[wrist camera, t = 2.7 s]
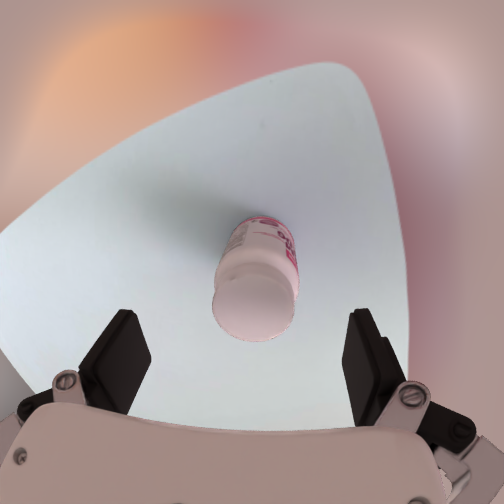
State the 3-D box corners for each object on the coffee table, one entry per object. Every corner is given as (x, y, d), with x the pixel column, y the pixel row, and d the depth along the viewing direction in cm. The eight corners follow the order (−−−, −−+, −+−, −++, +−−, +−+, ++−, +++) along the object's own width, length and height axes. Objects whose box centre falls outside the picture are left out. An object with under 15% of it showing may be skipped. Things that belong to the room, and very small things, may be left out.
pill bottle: (307, 241, 21) (323, 306, 13) (267, 284, 22) (261, 361, 15) (256, 201, 20) (242, 247, 12) (218, 249, 21) (186, 315, 14)
